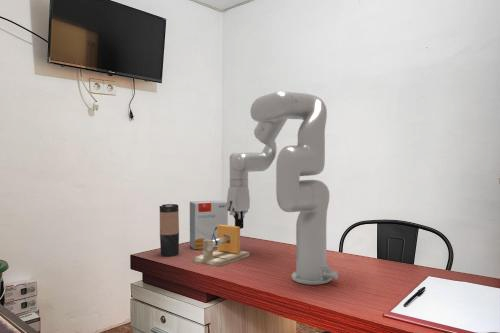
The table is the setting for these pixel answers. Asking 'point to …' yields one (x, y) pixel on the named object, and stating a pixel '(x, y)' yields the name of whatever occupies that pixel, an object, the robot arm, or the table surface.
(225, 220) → the hard drive box
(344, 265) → the table surface
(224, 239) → the pipe
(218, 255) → the pipe stand
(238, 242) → the collar
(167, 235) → the travel mug
